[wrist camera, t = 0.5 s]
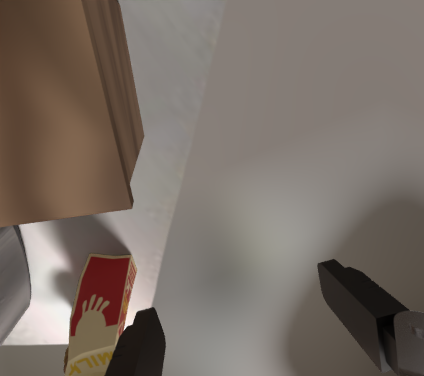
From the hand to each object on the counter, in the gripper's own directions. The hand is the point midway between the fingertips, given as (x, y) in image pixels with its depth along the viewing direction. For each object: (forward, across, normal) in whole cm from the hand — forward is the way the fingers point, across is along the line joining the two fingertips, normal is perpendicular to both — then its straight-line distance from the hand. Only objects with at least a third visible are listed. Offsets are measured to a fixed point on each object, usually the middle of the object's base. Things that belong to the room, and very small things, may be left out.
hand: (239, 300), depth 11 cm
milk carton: (+33, +22, +13) cm, 42 cm away
